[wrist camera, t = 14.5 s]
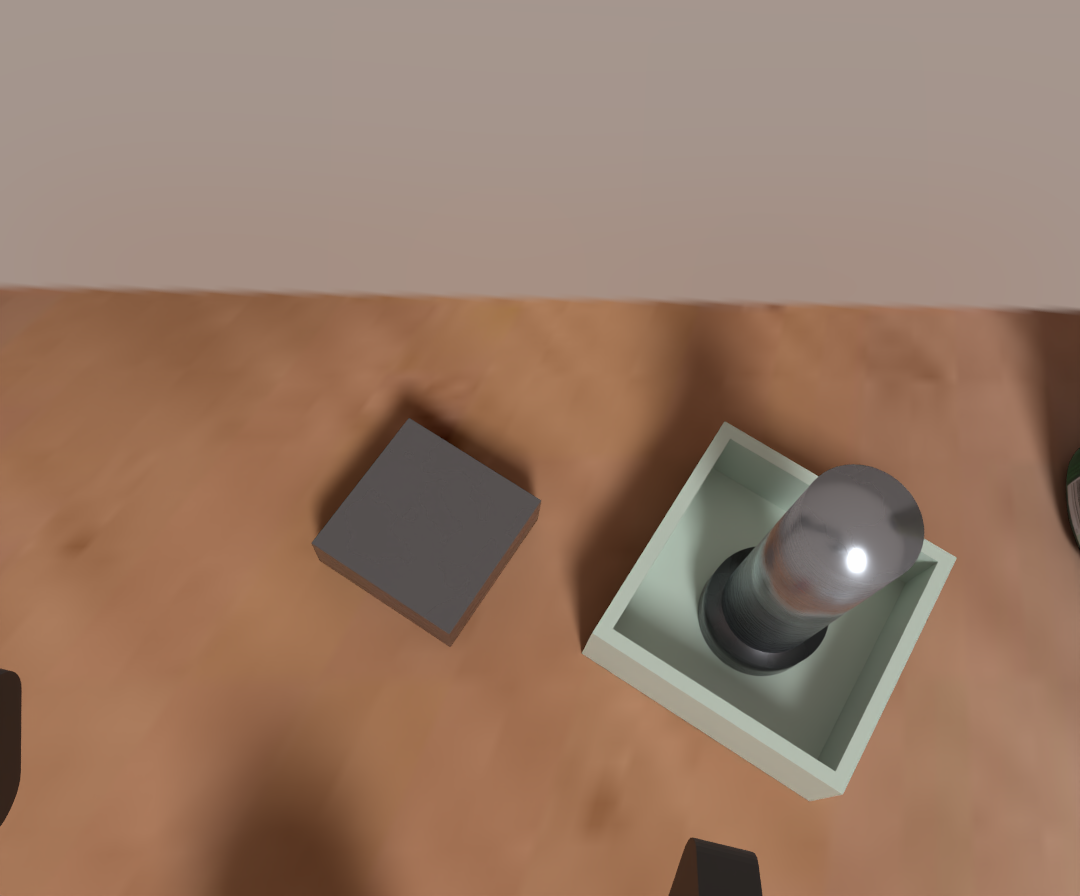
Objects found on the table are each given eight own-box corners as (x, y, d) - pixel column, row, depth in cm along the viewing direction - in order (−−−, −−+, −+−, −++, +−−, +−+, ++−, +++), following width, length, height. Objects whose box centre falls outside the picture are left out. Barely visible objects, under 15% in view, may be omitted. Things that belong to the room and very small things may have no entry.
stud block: (319, 560, 44) (311, 543, 42) (412, 440, 47) (408, 417, 44) (450, 647, 43) (449, 634, 41) (537, 519, 46) (541, 500, 43)
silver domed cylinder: (688, 660, 43) (771, 580, 31) (707, 547, 45) (792, 431, 33) (807, 688, 43) (936, 619, 31) (821, 574, 45) (947, 468, 33)
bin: (581, 653, 43) (592, 633, 40) (704, 456, 47) (724, 421, 44) (809, 801, 42) (842, 794, 38) (917, 583, 46) (956, 557, 42)
